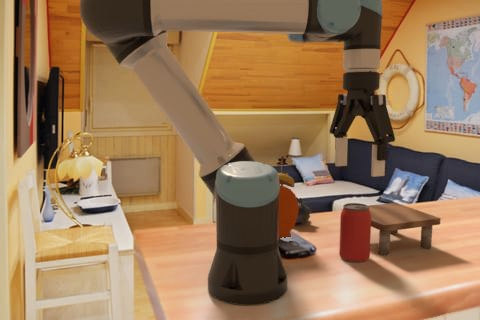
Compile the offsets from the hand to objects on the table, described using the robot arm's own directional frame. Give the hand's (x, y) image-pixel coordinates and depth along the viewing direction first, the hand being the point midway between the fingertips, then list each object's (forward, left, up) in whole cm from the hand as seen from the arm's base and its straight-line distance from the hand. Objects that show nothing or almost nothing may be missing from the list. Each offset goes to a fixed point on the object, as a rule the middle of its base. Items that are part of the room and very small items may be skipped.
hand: (358, 170), depth 100 cm
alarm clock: (-13, +17, -20) cm, 29 cm away
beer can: (0, 0, -20) cm, 20 cm away
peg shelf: (+14, +6, -20) cm, 25 cm away
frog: (0, +30, -20) cm, 36 cm away
